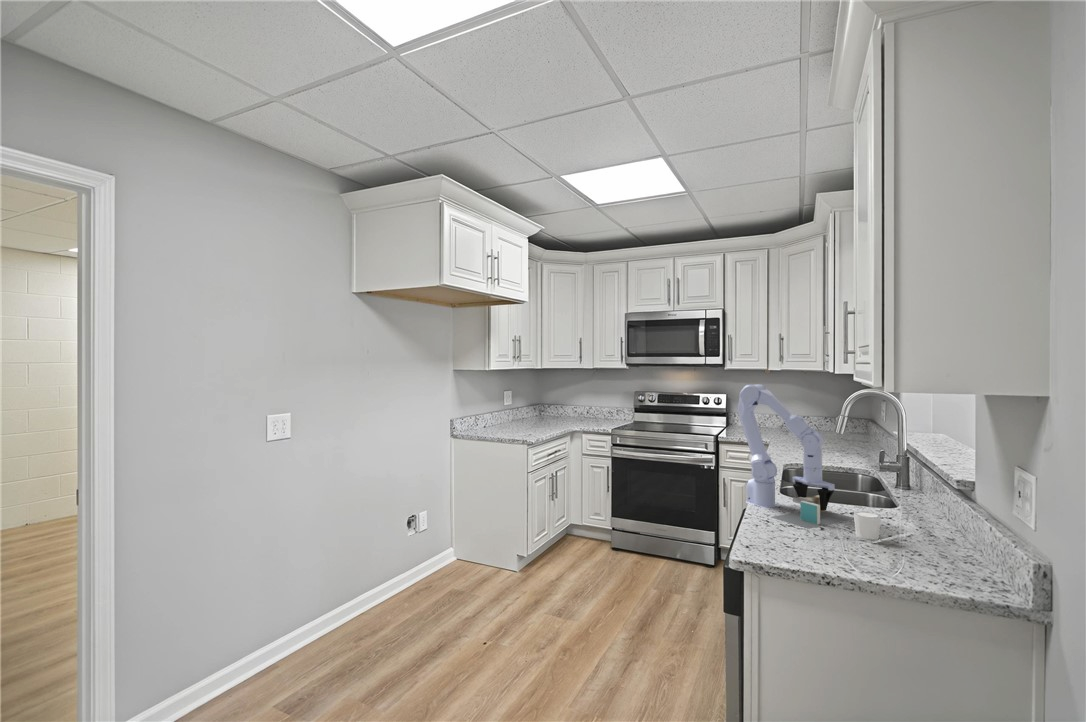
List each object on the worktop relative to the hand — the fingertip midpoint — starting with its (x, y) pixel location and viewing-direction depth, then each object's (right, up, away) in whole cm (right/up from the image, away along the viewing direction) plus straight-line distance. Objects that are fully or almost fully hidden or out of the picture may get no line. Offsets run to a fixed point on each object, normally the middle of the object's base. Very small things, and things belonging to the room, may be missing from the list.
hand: (813, 507), depth 179 cm
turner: (-1, -2, 0) cm, 2 cm away
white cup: (+3, -2, -25) cm, 26 cm away
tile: (-7, -2, -11) cm, 13 cm away
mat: (-3, -2, -7) cm, 8 cm away
